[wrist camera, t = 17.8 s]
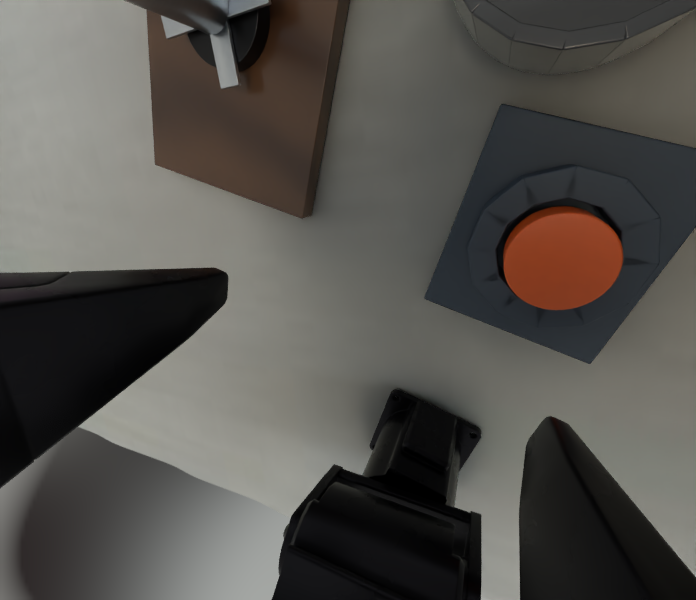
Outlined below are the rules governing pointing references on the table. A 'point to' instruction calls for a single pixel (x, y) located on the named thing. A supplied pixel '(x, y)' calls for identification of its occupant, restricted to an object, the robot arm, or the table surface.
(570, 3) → the dark fan housing
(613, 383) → the table surface
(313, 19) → the cutting board
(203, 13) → the blade
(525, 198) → the button block
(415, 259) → the table surface
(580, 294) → the button
